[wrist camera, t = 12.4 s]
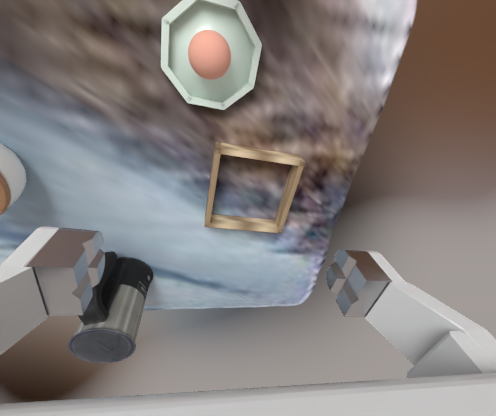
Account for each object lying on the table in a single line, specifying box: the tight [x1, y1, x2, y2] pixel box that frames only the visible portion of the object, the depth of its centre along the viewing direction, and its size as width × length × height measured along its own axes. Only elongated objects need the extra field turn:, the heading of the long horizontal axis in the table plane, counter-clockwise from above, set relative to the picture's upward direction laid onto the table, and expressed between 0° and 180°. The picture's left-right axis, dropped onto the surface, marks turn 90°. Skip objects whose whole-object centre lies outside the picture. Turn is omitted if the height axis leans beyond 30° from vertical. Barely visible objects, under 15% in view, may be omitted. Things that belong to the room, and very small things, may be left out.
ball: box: [188, 30, 231, 80], centre depth 29 cm, size 5×5×5 cm
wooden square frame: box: [205, 142, 305, 233], centre depth 41 cm, size 14×14×3 cm
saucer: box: [161, 0, 262, 110], centre depth 31 cm, size 12×12×2 cm
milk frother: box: [68, 252, 153, 363], centre depth 42 cm, size 14×16×15 cm
